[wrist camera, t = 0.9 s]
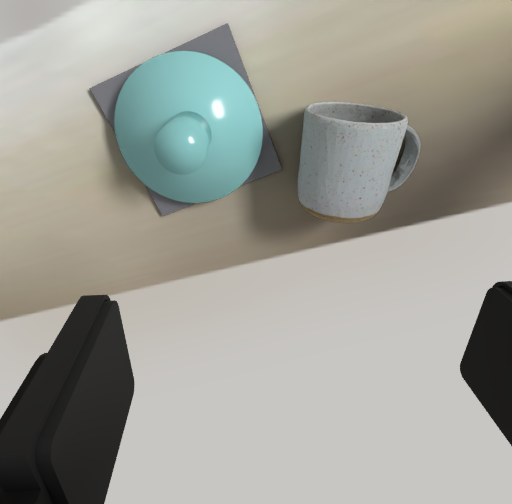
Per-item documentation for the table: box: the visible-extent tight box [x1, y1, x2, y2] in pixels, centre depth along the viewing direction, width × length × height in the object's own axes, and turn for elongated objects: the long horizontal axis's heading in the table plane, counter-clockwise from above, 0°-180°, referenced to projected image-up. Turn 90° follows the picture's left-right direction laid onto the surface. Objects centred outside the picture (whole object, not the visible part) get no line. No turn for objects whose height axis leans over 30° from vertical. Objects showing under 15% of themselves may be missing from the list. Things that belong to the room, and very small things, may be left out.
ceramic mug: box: [298, 102, 420, 223], centre depth 30 cm, size 11×8×8 cm
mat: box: [90, 23, 282, 216], centre depth 32 cm, size 12×12×1 cm
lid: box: [114, 51, 263, 203], centre depth 29 cm, size 12×12×6 cm
